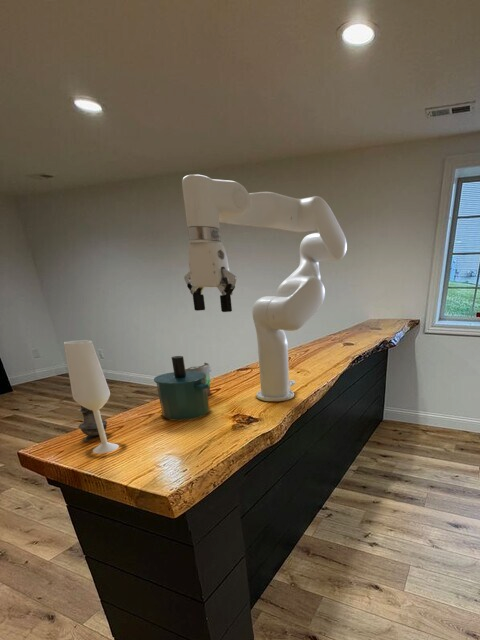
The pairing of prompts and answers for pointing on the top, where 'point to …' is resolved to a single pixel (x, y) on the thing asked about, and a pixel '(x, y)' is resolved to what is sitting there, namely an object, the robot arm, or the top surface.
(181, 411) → the pot
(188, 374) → the lid
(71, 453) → the top surface
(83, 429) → the grey lumpy figure
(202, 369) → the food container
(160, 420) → the top surface
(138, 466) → the top surface
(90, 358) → the champagne flute
